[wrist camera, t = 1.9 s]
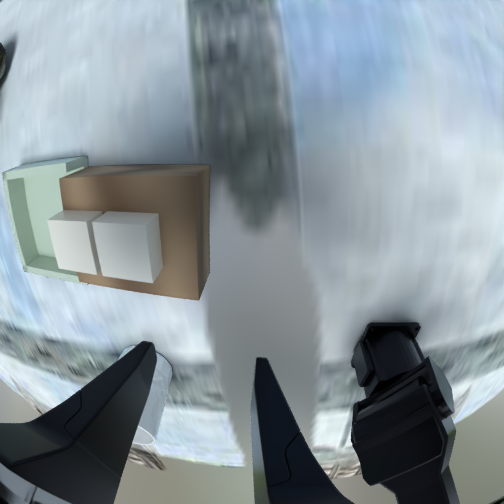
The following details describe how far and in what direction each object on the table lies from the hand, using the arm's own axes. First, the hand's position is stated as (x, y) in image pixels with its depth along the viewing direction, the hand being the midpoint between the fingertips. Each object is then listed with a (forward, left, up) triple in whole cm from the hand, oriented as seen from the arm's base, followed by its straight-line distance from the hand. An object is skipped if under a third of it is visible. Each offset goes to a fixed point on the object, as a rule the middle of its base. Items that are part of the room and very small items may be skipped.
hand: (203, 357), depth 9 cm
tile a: (+7, 0, -9) cm, 11 cm away
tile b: (+11, 0, -9) cm, 15 cm away
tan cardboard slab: (+8, 0, -13) cm, 15 cm away
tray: (+18, 0, -13) cm, 23 cm away
